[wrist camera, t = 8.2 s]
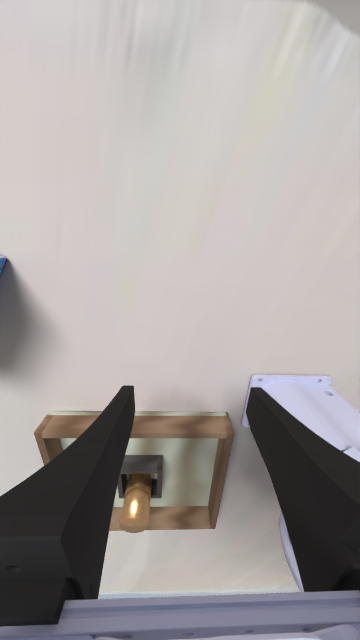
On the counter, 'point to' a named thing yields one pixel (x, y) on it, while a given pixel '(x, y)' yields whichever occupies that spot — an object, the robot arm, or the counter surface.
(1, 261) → the medicine box
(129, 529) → the bronze metal cylinder
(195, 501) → the walled box
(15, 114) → the counter surface
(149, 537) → the counter surface
